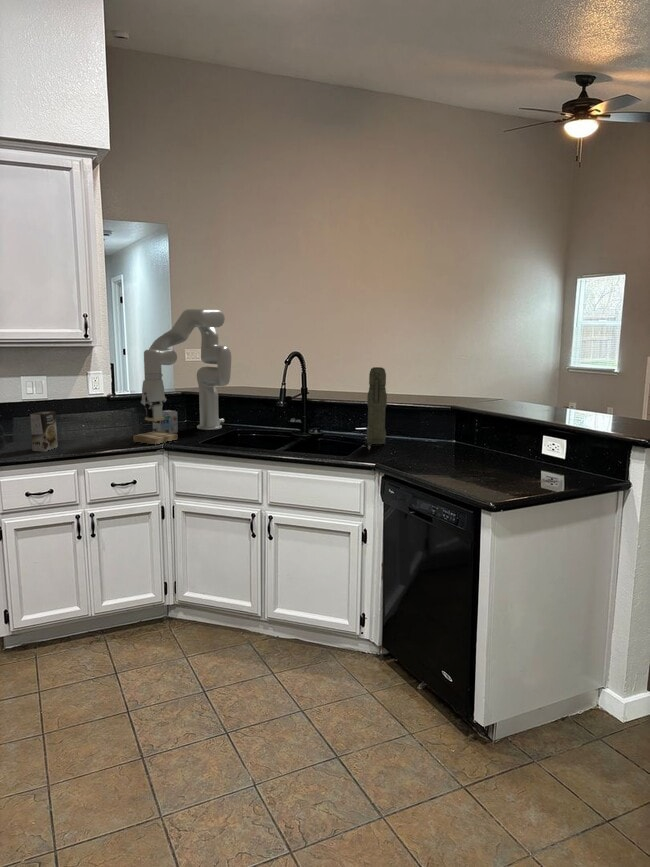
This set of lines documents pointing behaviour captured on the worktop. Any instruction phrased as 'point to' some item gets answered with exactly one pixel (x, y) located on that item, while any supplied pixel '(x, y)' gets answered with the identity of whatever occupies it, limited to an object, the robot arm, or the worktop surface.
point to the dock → (155, 437)
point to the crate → (155, 413)
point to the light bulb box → (167, 422)
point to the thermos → (376, 406)
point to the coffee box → (43, 431)
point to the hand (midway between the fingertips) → (154, 416)
